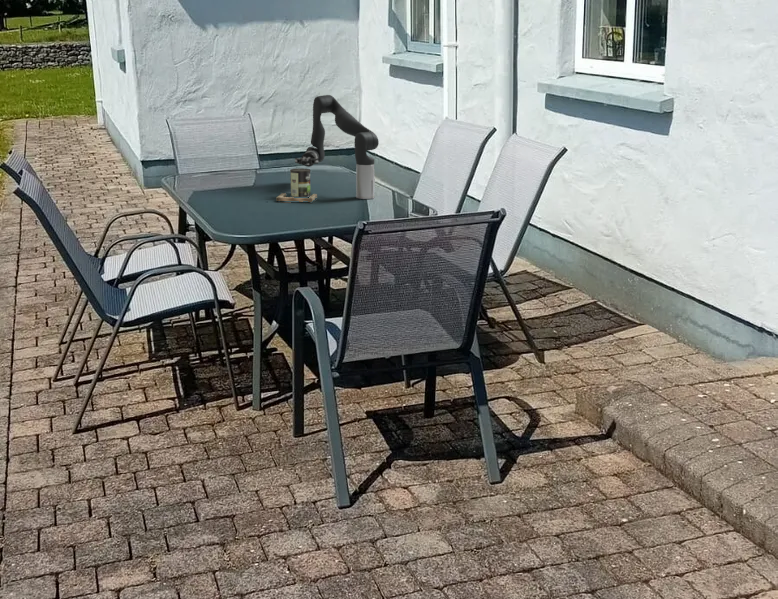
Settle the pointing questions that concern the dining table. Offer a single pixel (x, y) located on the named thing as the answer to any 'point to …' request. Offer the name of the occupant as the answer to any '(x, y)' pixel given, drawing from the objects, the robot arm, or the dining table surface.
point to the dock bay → (283, 198)
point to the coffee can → (300, 182)
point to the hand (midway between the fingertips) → (303, 163)
